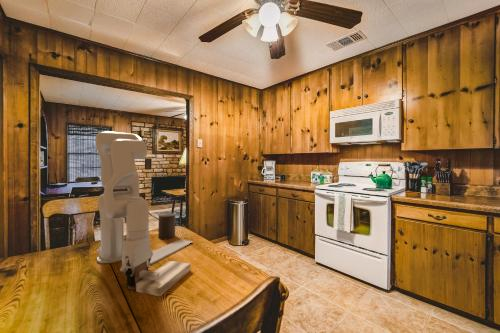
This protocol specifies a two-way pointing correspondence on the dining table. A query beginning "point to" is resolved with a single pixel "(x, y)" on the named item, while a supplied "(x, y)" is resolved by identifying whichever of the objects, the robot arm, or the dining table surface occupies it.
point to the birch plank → (163, 278)
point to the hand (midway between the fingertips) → (137, 280)
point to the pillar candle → (166, 225)
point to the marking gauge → (143, 274)
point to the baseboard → (168, 250)
